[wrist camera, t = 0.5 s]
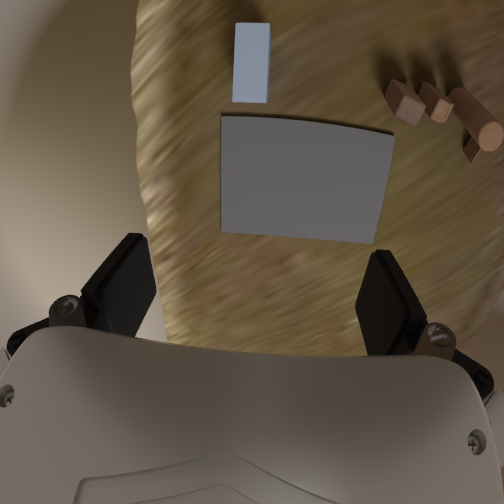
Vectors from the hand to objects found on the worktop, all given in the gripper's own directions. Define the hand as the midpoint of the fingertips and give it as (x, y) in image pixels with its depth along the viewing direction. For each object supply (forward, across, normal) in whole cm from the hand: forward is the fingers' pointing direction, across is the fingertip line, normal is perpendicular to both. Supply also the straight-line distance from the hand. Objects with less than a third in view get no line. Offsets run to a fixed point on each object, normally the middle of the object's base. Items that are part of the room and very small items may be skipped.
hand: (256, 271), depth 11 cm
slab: (+26, +2, -10) cm, 28 cm away
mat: (+26, -5, +4) cm, 26 cm away
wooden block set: (+26, -23, -10) cm, 36 cm away
